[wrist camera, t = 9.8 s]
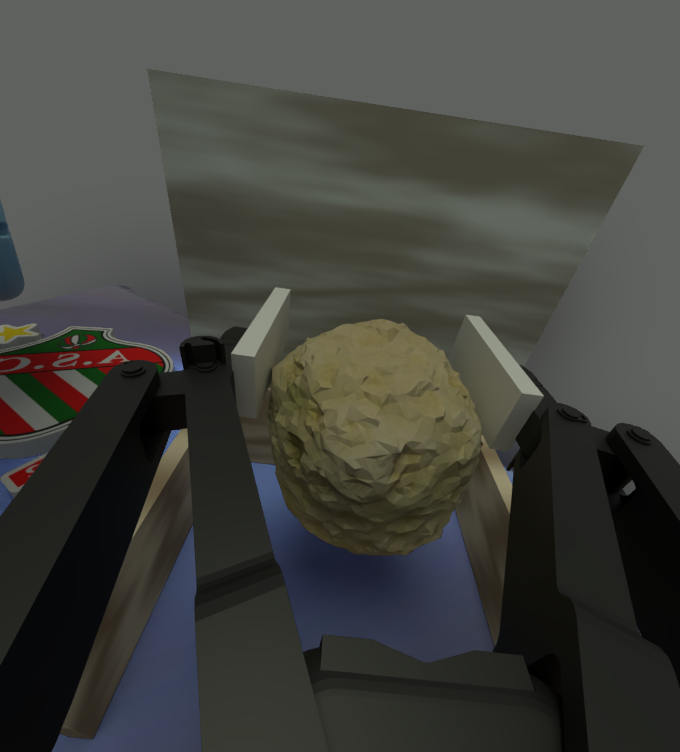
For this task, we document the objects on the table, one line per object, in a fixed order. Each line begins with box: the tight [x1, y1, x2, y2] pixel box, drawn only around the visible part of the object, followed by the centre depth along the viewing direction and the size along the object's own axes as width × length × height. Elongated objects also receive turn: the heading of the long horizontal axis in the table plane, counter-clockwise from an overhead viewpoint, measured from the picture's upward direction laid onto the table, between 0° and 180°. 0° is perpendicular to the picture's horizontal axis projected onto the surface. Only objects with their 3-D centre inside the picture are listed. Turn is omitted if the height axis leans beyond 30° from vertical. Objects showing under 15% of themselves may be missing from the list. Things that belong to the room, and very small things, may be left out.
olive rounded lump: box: [266, 319, 483, 556], centre depth 14 cm, size 9×10×10 cm
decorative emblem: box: [0, 324, 175, 498], centre depth 35 cm, size 19×2×30 cm
